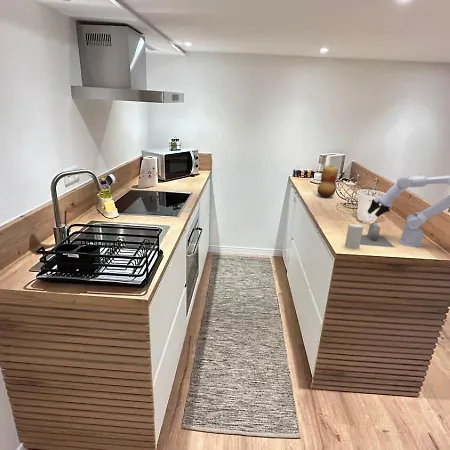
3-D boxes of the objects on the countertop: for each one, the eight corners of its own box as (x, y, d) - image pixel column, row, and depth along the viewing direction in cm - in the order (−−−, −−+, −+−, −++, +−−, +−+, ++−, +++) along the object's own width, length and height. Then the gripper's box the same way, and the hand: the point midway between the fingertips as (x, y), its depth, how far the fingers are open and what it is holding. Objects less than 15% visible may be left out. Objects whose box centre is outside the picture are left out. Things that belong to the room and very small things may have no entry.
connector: (373, 236, 196) (376, 221, 193) (378, 241, 188) (382, 226, 185) (366, 235, 196) (369, 221, 193) (371, 240, 188) (374, 226, 185)
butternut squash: (321, 199, 270) (326, 167, 262) (313, 194, 282) (318, 164, 274) (337, 199, 273) (343, 167, 265) (329, 194, 286) (334, 164, 277)
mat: (383, 237, 197) (383, 236, 196) (395, 248, 181) (395, 247, 181) (351, 234, 197) (351, 234, 197) (360, 245, 182) (360, 244, 181)
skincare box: (355, 246, 180) (359, 224, 176) (359, 249, 176) (364, 227, 172) (344, 245, 180) (348, 223, 176) (347, 249, 175) (352, 226, 171)
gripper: (392, 194, 192) (375, 212, 199) (378, 187, 184) (360, 206, 190) (401, 202, 188) (382, 220, 194) (387, 195, 179) (368, 215, 186)
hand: (372, 214), depth 192 cm, fingers open, 7 cm apart
